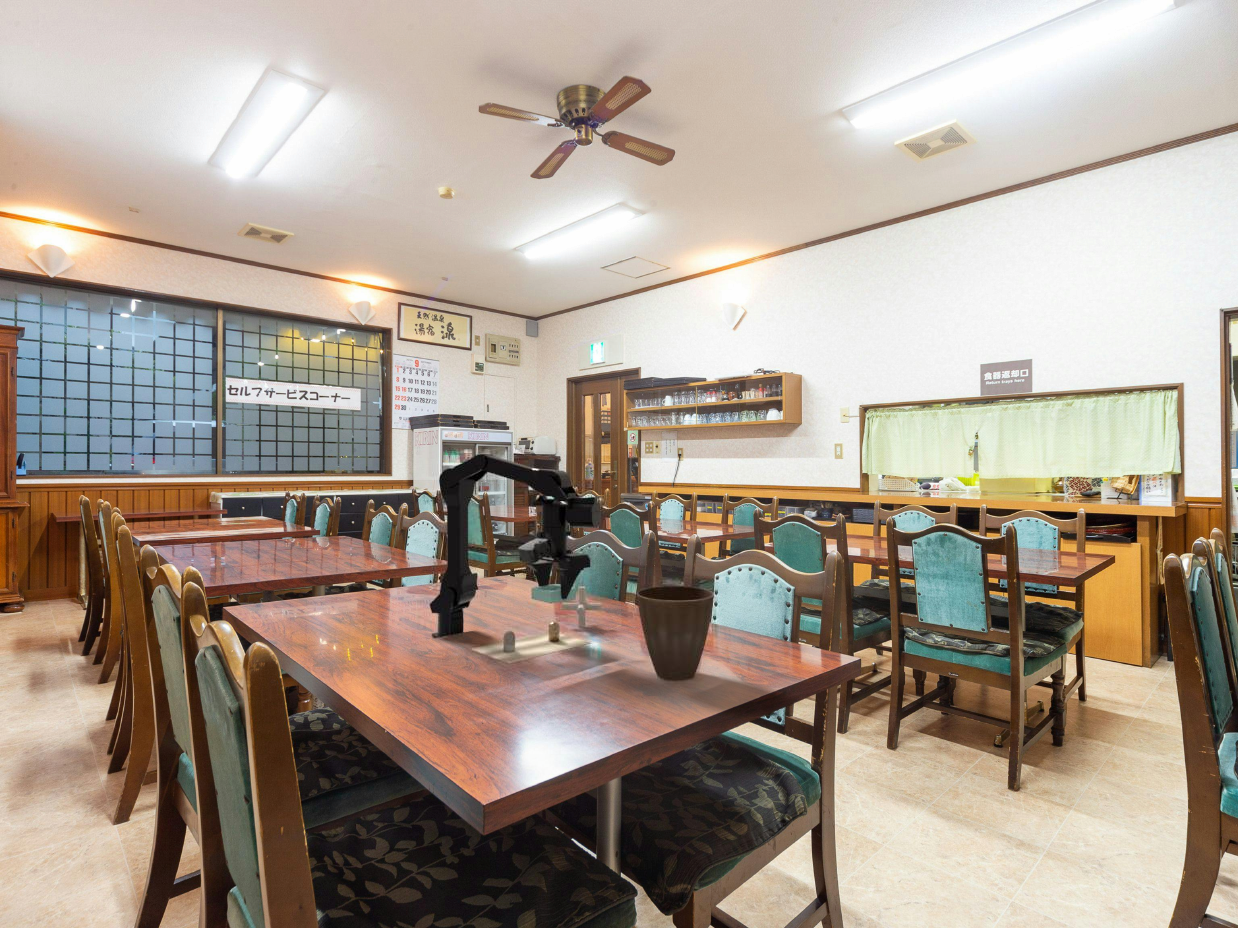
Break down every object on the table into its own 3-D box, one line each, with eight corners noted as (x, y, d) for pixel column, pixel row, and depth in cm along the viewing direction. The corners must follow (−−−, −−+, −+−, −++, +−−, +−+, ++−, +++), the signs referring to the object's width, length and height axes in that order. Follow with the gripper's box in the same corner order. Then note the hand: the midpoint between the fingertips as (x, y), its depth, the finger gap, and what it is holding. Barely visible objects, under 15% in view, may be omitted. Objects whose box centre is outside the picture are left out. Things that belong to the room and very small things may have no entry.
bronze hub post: (546, 640, 144) (546, 621, 144) (554, 638, 145) (554, 620, 145) (553, 642, 142) (553, 623, 142) (561, 640, 143) (561, 621, 144)
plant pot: (666, 693, 115) (666, 603, 115) (621, 670, 127) (622, 589, 127) (729, 679, 123) (730, 595, 123) (681, 659, 135) (682, 583, 135)
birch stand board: (470, 655, 137) (470, 628, 137) (551, 637, 152) (552, 613, 152) (508, 671, 127) (508, 641, 127) (591, 649, 142) (591, 623, 142)
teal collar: (531, 598, 143) (531, 587, 143) (556, 594, 148) (556, 583, 148) (551, 603, 138) (551, 592, 138) (575, 599, 143) (575, 588, 143)
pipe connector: (600, 632, 157) (600, 591, 158) (559, 631, 158) (560, 590, 158) (602, 622, 167) (602, 583, 168) (564, 621, 168) (564, 583, 168)
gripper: (500, 525, 145) (499, 595, 144) (551, 532, 131) (551, 608, 131) (539, 523, 152) (539, 589, 152) (592, 528, 139) (592, 601, 139)
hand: (553, 596), depth 143 cm, fingers closed on teal collar, 7 cm apart
